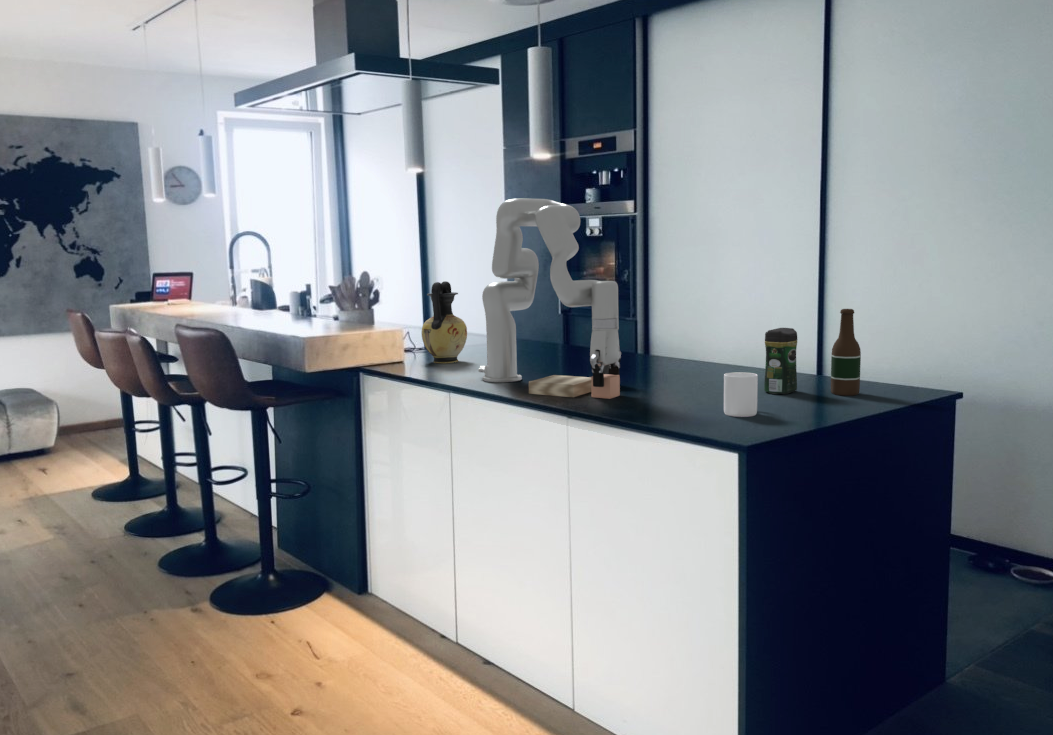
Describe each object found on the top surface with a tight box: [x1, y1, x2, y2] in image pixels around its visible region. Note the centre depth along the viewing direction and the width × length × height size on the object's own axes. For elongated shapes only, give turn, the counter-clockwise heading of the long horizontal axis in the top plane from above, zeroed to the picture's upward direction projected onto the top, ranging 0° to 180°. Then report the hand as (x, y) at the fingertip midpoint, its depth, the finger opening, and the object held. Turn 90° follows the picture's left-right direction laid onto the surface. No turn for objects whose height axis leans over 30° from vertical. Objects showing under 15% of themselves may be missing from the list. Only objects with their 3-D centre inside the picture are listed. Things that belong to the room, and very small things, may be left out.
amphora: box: [421, 281, 468, 364], centre depth 344 cm, size 18×17×30 cm
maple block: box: [528, 374, 592, 398], centre depth 275 cm, size 15×15×4 cm
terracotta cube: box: [590, 374, 621, 400], centre depth 265 cm, size 6×6×6 cm
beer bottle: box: [830, 308, 862, 397], centre depth 260 cm, size 8×8×24 cm
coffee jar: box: [763, 327, 798, 395], centre depth 265 cm, size 10×8×19 cm
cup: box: [723, 371, 759, 418], centre depth 236 cm, size 8×12×10 cm
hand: (606, 384), depth 265 cm, fingers open, 9 cm apart
